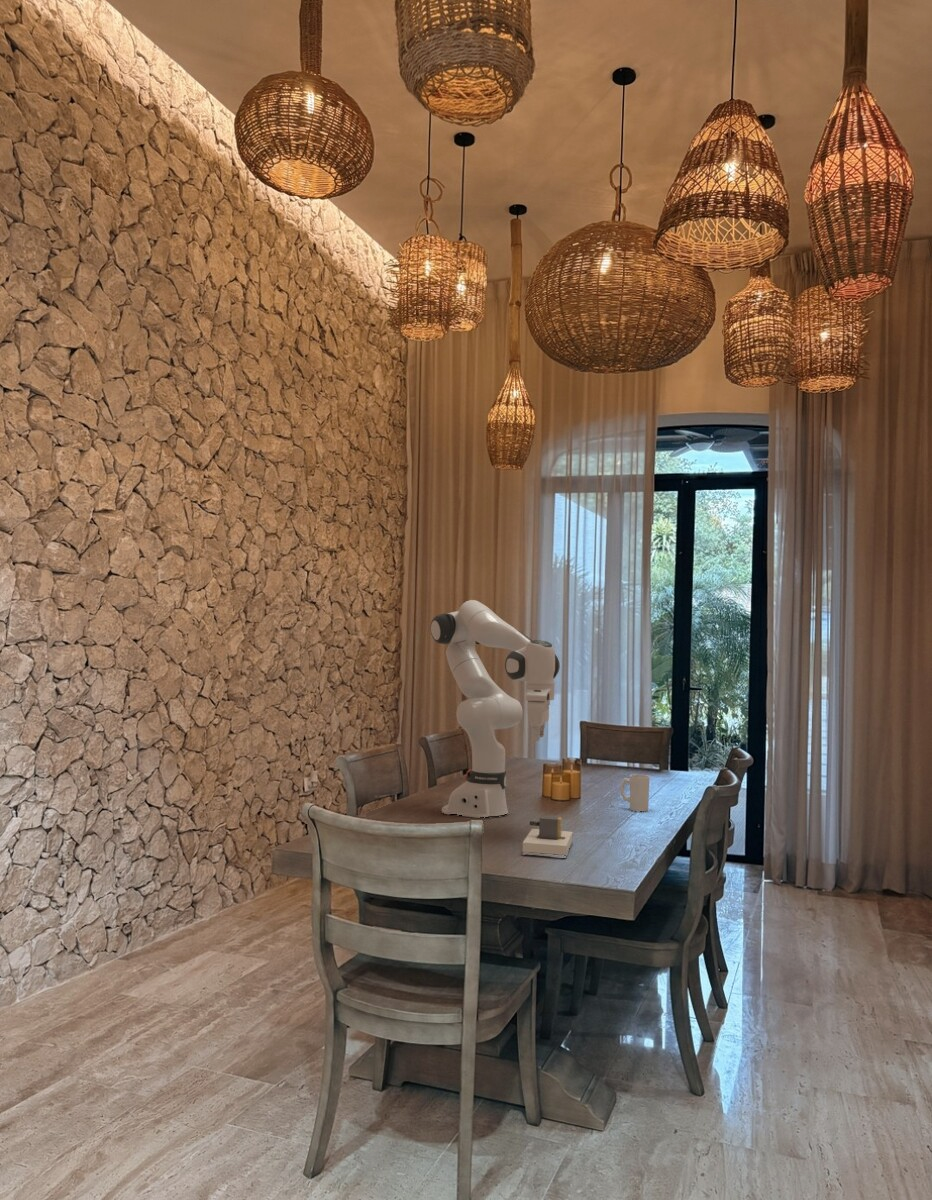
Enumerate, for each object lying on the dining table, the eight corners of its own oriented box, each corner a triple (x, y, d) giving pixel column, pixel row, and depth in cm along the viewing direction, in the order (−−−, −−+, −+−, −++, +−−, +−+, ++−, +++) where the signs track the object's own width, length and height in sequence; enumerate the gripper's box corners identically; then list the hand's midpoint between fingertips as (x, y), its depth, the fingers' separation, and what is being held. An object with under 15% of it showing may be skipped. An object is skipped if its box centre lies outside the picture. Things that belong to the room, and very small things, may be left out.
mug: (650, 809, 319) (650, 775, 320) (647, 813, 313) (647, 778, 314) (621, 806, 323) (622, 773, 323) (618, 810, 317) (618, 775, 317)
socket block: (522, 855, 250) (522, 842, 250) (531, 840, 268) (532, 828, 268) (565, 858, 247) (566, 846, 247) (572, 843, 265) (572, 831, 265)
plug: (528, 845, 257) (529, 817, 257) (530, 842, 261) (531, 814, 261) (560, 848, 255) (560, 819, 255) (561, 845, 259) (562, 817, 259)
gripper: (534, 690, 288) (533, 734, 288) (524, 695, 268) (523, 742, 268) (554, 691, 287) (552, 735, 287) (545, 696, 267) (544, 743, 267)
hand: (538, 738), depth 277 cm, fingers open, 8 cm apart
